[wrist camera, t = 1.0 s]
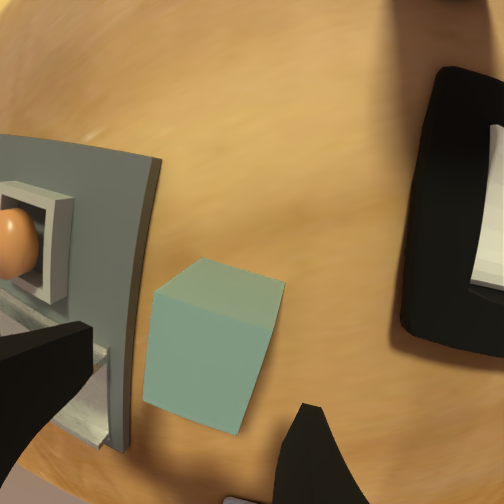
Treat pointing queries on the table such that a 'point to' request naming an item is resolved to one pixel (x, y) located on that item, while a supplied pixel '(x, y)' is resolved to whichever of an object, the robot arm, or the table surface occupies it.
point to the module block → (209, 342)
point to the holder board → (93, 244)
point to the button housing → (55, 238)
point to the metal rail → (93, 392)
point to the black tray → (458, 218)
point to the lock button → (17, 243)
